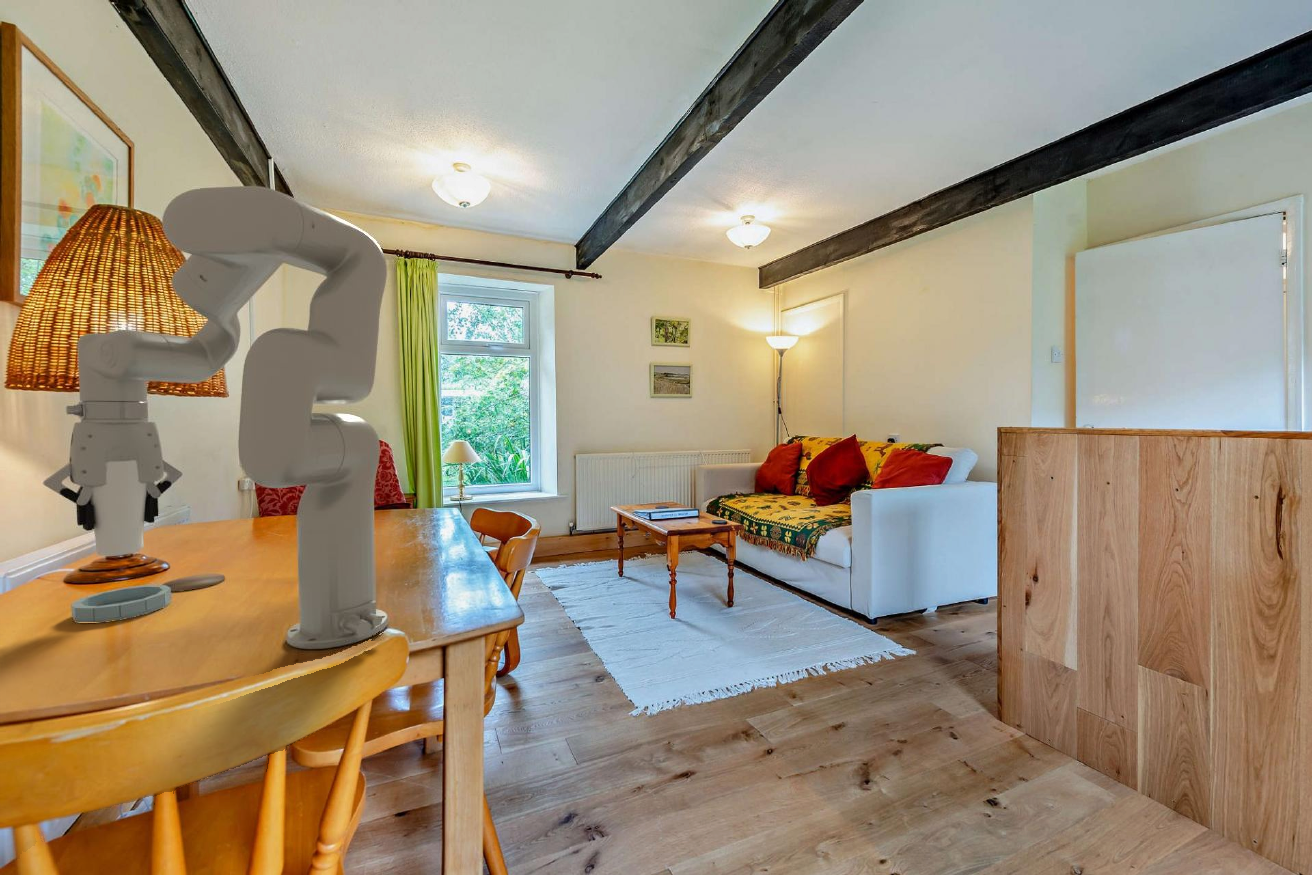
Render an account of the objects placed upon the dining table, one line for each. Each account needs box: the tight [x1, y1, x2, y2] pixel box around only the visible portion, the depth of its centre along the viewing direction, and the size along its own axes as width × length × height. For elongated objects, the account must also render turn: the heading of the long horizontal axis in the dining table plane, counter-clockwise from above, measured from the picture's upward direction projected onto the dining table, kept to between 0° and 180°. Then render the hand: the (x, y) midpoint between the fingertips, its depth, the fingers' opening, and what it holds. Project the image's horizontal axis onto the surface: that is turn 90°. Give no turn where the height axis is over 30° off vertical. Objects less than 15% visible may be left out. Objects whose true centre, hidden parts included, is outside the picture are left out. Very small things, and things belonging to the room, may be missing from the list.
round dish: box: [70, 584, 172, 622], centre depth 85 cm, size 11×11×2 cm
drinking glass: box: [89, 460, 147, 557], centre depth 85 cm, size 7×7×15 cm
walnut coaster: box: [161, 573, 226, 592], centre depth 99 cm, size 9×9×1 cm
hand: (119, 524), depth 85 cm, fingers closed on drinking glass, 6 cm apart
